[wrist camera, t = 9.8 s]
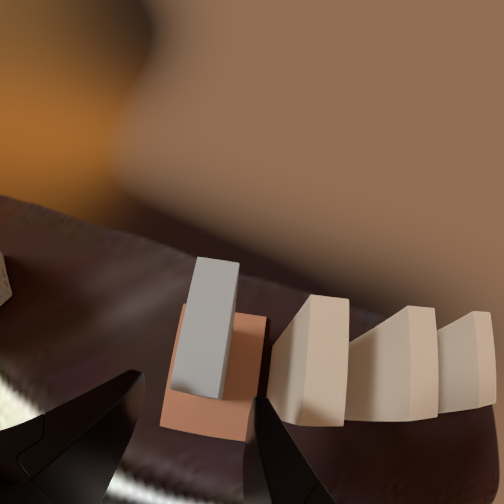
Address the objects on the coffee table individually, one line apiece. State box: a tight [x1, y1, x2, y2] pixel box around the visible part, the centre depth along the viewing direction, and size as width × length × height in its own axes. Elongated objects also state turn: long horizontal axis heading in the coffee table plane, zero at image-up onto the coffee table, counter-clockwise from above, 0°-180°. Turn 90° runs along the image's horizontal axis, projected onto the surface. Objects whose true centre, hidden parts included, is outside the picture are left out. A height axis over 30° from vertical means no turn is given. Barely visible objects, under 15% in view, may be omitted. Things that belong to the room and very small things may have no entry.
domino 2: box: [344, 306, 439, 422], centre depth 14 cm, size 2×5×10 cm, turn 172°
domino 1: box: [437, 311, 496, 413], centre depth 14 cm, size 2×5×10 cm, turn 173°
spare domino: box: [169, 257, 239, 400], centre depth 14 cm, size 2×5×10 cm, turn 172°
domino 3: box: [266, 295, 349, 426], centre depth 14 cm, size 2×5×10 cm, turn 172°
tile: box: [160, 304, 266, 441], centre depth 18 cm, size 9×6×1 cm, turn 173°
